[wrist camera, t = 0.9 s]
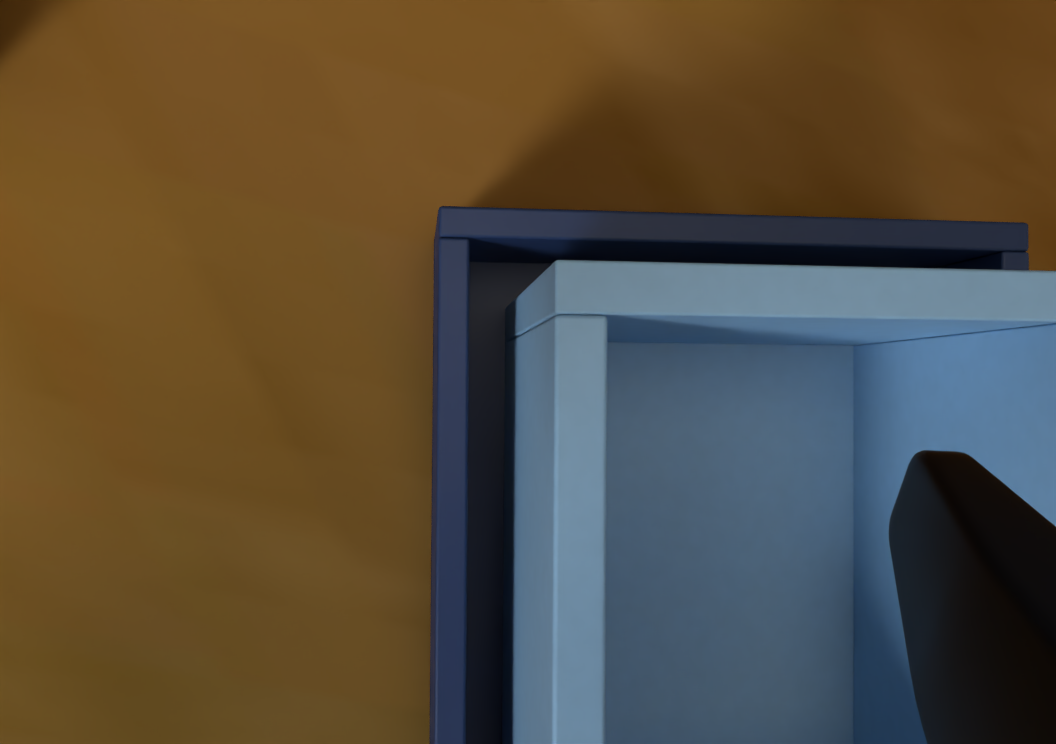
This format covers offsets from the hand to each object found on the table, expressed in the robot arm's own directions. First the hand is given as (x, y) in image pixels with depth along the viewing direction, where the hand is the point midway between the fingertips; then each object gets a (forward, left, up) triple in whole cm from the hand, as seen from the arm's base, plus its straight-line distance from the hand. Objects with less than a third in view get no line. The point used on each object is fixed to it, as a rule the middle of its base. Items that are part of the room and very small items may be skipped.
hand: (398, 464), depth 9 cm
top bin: (-3, -7, -13) cm, 15 cm away
